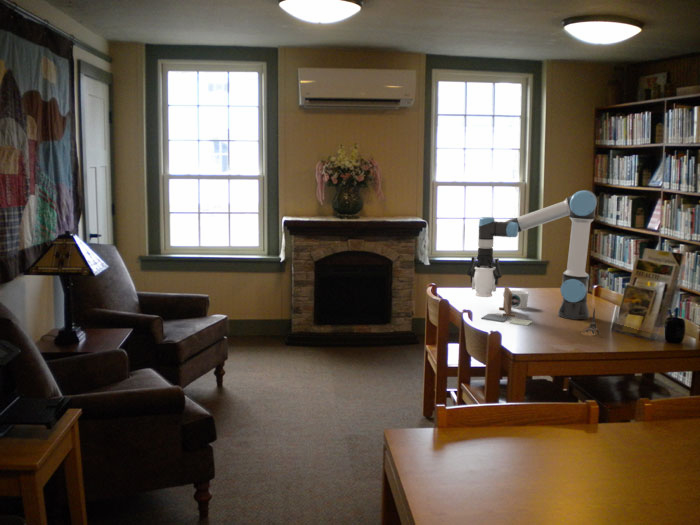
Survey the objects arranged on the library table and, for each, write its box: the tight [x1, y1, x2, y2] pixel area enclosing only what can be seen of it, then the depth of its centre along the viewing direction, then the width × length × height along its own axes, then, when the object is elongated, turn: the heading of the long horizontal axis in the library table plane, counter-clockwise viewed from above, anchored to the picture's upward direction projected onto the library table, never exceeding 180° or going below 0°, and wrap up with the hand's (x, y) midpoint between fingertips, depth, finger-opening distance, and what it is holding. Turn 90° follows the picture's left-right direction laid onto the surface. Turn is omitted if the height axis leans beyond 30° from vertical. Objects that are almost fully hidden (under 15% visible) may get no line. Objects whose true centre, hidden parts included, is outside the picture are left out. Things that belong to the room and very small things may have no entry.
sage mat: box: [508, 317, 533, 326], centre depth 345 cm, size 9×9×1 cm
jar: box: [474, 265, 496, 298], centre depth 365 cm, size 11×10×15 cm
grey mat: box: [480, 313, 510, 323], centre depth 352 cm, size 11×11×1 cm
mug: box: [502, 289, 529, 310], centre depth 383 cm, size 13×10×8 cm
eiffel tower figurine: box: [584, 306, 600, 334], centre depth 328 cm, size 15×10×13 cm
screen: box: [498, 286, 516, 318], centre depth 366 cm, size 6×18×12 cm, turn 175°
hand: (483, 290), depth 366 cm, fingers closed on jar, 10 cm apart
